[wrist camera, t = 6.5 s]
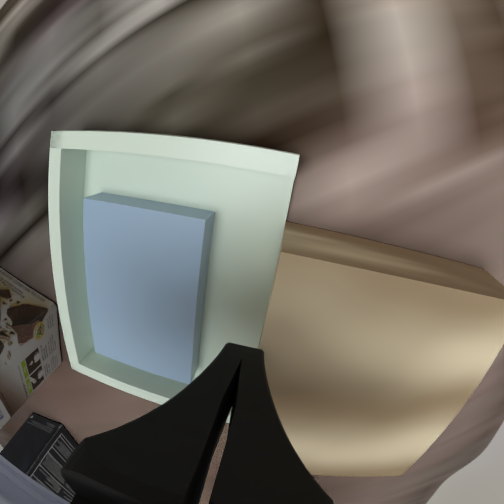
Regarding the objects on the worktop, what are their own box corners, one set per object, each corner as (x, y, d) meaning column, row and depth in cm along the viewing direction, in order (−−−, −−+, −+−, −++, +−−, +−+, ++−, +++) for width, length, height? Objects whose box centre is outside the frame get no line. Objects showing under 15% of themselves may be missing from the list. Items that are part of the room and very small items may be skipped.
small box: (29, 409, 25) (-14, 463, 15) (62, 422, 24) (17, 487, 14) (70, 460, 28) (39, 511, 18) (105, 473, 27) (74, 531, 17)
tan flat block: (392, 431, 17) (401, 475, 13) (241, 414, 18) (230, 462, 14) (483, 268, 12) (523, 303, 9) (285, 221, 13) (280, 251, 10)
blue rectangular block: (95, 352, 15) (107, 338, 17) (190, 384, 15) (198, 367, 16) (83, 198, 12) (101, 192, 13) (205, 220, 12) (215, 211, 13)
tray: (246, 395, 17) (239, 425, 15) (90, 347, 18) (71, 368, 16) (298, 153, 12) (299, 155, 10) (83, 130, 13) (51, 131, 11)
